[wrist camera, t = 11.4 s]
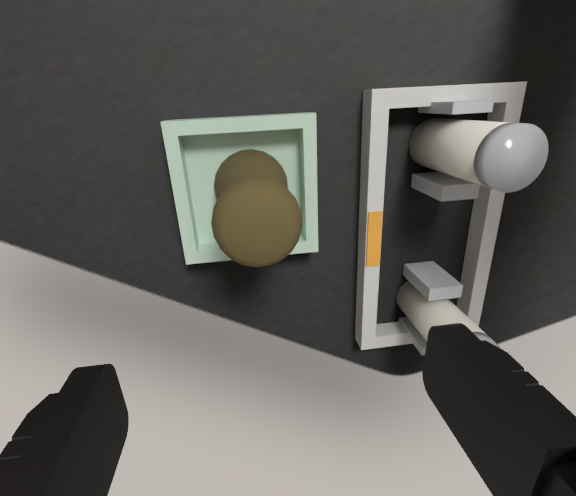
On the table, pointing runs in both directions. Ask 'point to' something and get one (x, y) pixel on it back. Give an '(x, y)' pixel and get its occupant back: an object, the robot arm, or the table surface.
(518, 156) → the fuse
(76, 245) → the table surface
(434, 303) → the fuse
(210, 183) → the tray
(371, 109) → the white rectangular frame
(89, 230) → the table surface
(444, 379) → the robot arm
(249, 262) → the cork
